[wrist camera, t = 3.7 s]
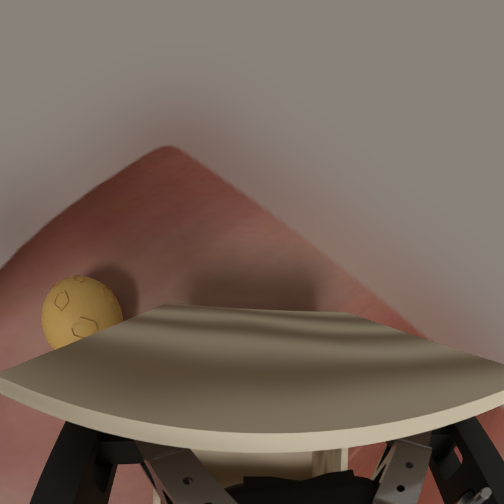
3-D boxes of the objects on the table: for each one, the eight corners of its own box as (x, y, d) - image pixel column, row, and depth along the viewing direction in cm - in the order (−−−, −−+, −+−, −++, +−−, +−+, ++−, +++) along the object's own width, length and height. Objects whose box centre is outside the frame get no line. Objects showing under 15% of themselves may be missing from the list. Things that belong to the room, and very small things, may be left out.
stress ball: (114, 383, 30) (75, 374, 21) (56, 346, 31) (11, 325, 22) (147, 312, 34) (121, 280, 26) (88, 283, 36) (53, 246, 27)
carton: (313, 497, 25) (342, 525, 16) (173, 493, 24) (153, 523, 15) (316, 342, 34) (346, 320, 25) (183, 335, 33) (166, 310, 25)
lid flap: (534, 388, 5) (538, 374, 5) (-3, 391, 5) (-6, 374, 5) (345, 317, 25) (346, 312, 25) (167, 308, 25) (167, 302, 25)
